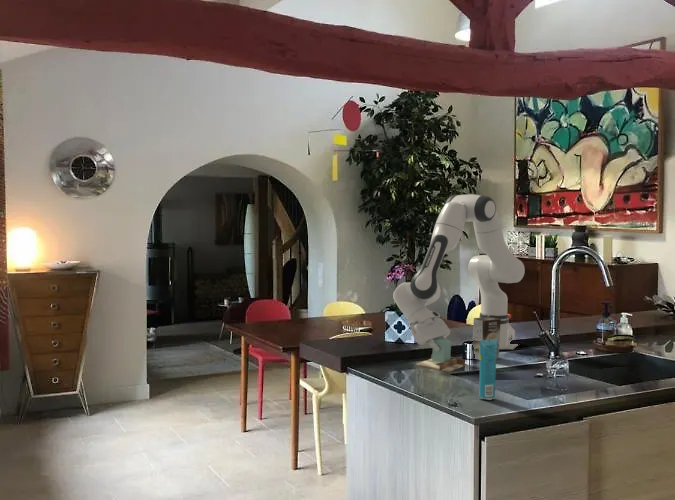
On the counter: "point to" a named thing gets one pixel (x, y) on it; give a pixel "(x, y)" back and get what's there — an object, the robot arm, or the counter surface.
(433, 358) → the block
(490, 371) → the tube
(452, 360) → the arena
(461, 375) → the counter surface
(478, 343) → the coffee box
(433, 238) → the robot arm
